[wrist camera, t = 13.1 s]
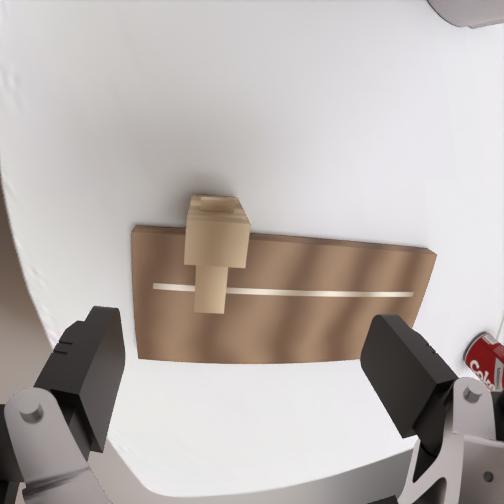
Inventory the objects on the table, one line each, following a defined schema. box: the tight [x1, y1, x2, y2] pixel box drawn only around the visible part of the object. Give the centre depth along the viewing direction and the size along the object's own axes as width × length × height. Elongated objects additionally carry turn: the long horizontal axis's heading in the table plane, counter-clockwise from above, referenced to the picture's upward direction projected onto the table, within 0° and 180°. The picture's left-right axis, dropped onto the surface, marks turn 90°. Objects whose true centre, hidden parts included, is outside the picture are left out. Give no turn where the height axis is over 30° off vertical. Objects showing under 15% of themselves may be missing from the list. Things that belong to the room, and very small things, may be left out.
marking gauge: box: [184, 194, 251, 314], centre depth 25 cm, size 4×9×8 cm, turn 174°
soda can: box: [465, 333, 504, 392], centre depth 37 cm, size 7×7×12 cm
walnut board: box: [131, 226, 437, 364], centre depth 32 cm, size 32×14×2 cm, turn 84°
